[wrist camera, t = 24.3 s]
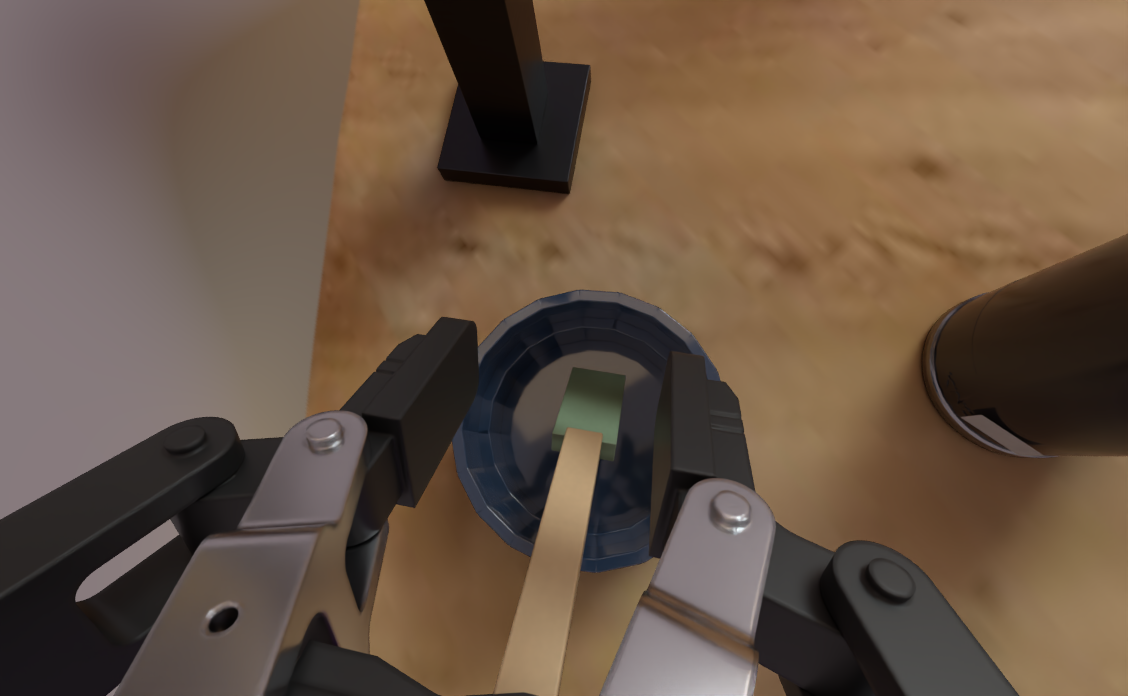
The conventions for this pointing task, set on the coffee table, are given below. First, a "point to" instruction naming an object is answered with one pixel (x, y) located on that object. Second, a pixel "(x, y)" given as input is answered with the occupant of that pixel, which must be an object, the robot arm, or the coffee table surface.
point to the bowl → (531, 405)
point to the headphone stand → (508, 98)
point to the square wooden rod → (562, 534)
